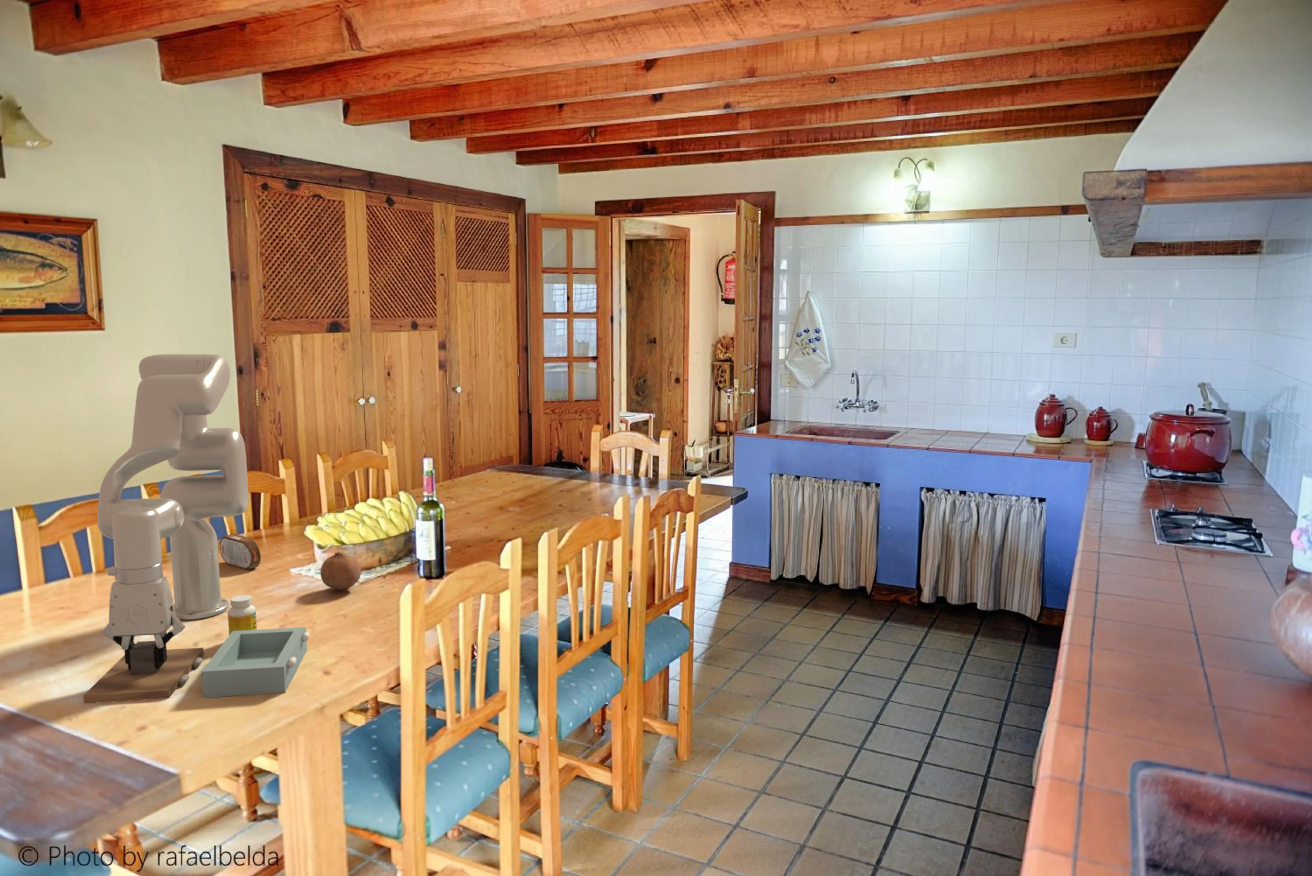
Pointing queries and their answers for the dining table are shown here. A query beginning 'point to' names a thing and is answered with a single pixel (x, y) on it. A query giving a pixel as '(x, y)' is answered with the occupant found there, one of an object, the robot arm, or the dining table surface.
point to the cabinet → (255, 662)
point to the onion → (340, 572)
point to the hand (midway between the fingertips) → (146, 665)
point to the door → (145, 675)
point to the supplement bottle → (241, 614)
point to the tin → (240, 551)
